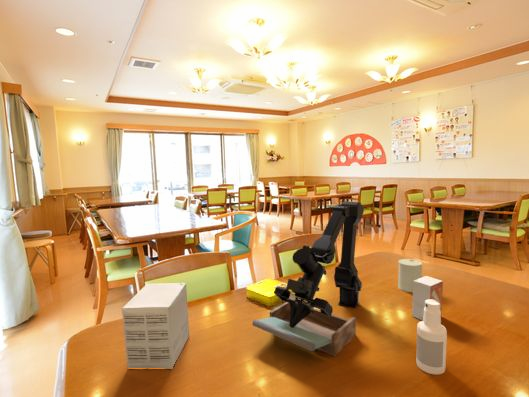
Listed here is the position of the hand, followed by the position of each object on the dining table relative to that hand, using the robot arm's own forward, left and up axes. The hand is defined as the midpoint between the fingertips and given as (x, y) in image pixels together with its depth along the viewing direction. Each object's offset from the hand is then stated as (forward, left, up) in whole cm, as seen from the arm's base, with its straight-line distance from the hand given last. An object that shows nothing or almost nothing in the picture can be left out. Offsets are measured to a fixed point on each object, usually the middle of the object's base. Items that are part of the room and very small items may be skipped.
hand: (291, 327), depth 92 cm
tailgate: (+1, +4, -3) cm, 5 cm away
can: (+31, +60, -7) cm, 68 cm away
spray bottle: (+37, +7, -7) cm, 38 cm away
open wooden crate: (+3, +11, -7) cm, 13 cm away
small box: (+37, +36, -7) cm, 52 cm away
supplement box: (-35, -17, -7) cm, 40 cm away
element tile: (-22, +31, -7) cm, 39 cm away
